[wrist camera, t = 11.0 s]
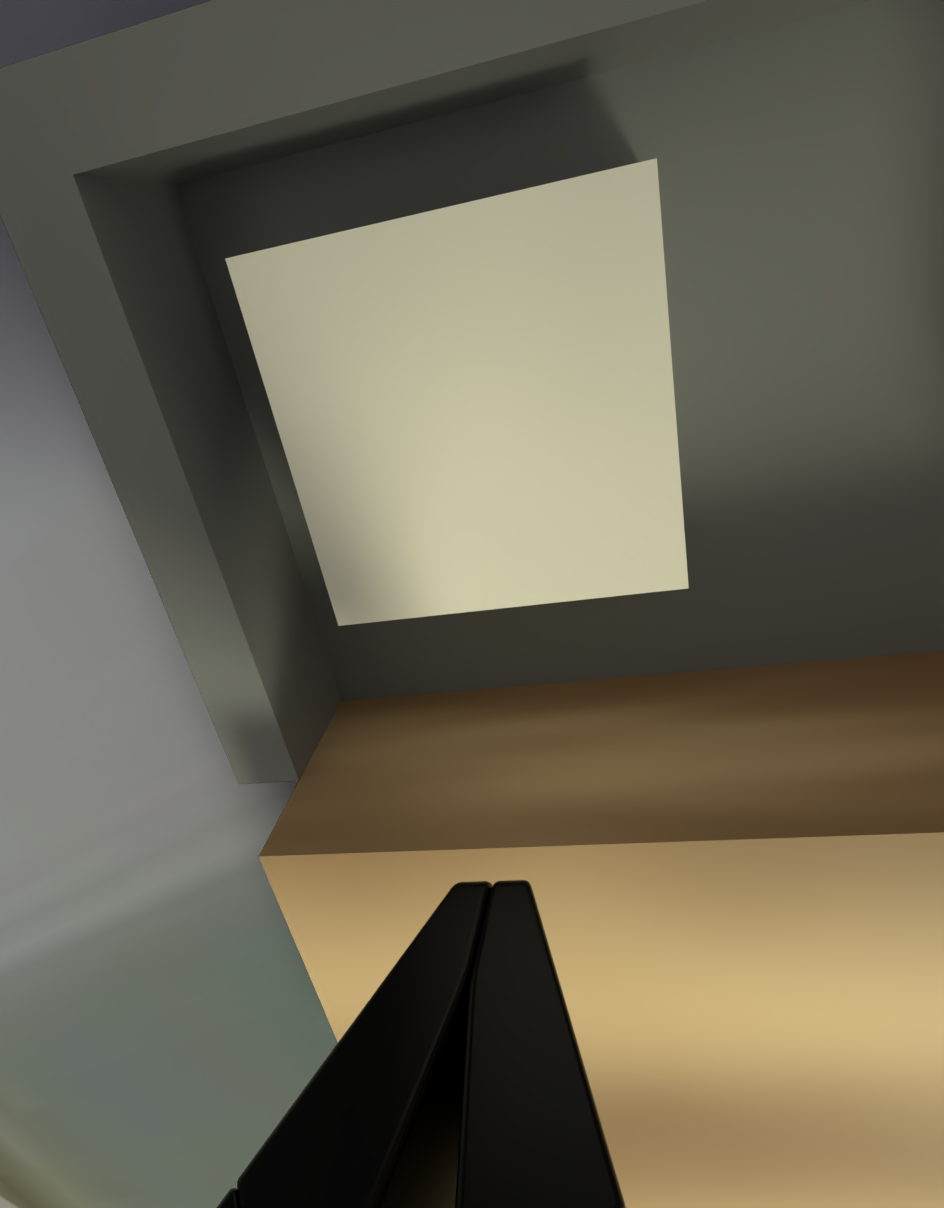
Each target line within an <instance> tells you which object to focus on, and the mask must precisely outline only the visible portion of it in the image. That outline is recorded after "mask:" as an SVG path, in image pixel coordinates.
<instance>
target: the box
mask: <svg viewBox="0 0 944 1208" xmlns="http://www.w3.org/2000/svg"><path fill="white" fill-rule="evenodd" d="M656 158H657V166H658V179H659V193H660V207H661V220H662V234H663V247H664V261H665V274H666V288H667V301H668V315H669V328H670V342H671V355H672V369H673V382H674V396H675V409H676V423H677V436H678V450H679V463H680V477H681V490H682V504H683V517H684V531H685V544H686V558H687V572H688V585H689V588H687V589H678V590H669V591H659V592H650V593H641V594H631V595H622V596H613V597H603V598H594V599H585V600H575V601H566V602H557V603H547V604H538V605H529V606H519V607H510V608H501V609H492V610H482V611H473V612H464V613H454V614H445V615H436V616H426V617H417V618H408V619H398V620H389V621H380V622H370V623H361V624H352V625H342V626H338V623H337V619H336V616H335V613H334V610H333V606H332V603H331V600H330V597H329V594H328V590H327V587H326V584H325V581H324V577H323V574H322V571H321V568H320V564H319V561H318V558H317V555H316V551H315V548H314V545H313V542H312V538H311V535H310V532H309V529H308V526H307V522H306V519H305V516H304V513H303V509H302V506H301V503H300V500H299V496H298V493H297V490H296V487H295V483H294V480H293V477H292V474H291V470H290V467H289V464H288V461H287V458H286V454H285V451H284V448H283V445H282V441H281V438H280V435H279V432H278V428H277V425H276V422H275V419H274V415H273V412H272V409H271V406H270V402H269V399H268V396H267V393H266V389H265V386H264V383H263V380H262V377H261V373H260V370H259V367H258V364H257V360H256V357H255V354H254V351H253V347H252V344H251V341H250V338H249V334H248V331H247V328H246V325H245V321H244V318H243V315H242V312H241V309H240V305H239V302H238V299H237V296H236V292H235V289H234V286H233V283H232V279H231V276H230V273H229V270H228V266H227V263H226V260H225V258H230V257H234V256H238V255H243V254H247V253H251V252H255V251H260V250H264V249H268V248H273V247H277V246H281V245H286V244H290V243H294V242H298V241H303V240H307V239H311V238H316V237H320V236H324V235H329V234H333V233H337V232H342V231H346V230H350V229H354V228H359V227H363V226H367V225H372V224H376V223H380V222H385V221H389V220H393V219H397V218H402V217H406V216H410V215H415V214H419V213H423V212H428V211H432V210H436V209H440V208H445V207H449V206H453V205H458V204H462V203H466V202H471V201H475V200H479V199H484V198H488V197H492V196H496V195H501V194H505V193H509V192H514V191H518V190H522V189H527V188H531V187H535V186H539V185H544V184H548V183H552V182H557V181H561V180H565V179H570V178H574V177H578V176H582V175H587V174H591V173H595V172H600V171H604V170H608V169H613V168H617V167H621V166H626V165H630V164H634V163H638V162H643V161H647V160H651V159H656ZM0 216H1V218H2V220H3V223H4V225H5V227H6V230H7V232H8V235H9V237H10V239H11V242H12V244H13V247H14V249H15V251H16V254H17V256H18V259H19V261H20V263H21V266H22V268H23V270H24V273H25V275H26V278H27V280H28V282H29V285H30V287H31V290H32V292H33V294H34V297H35V299H36V301H37V304H38V306H39V309H40V311H41V313H42V316H43V318H44V321H45V323H46V325H47V328H48V330H49V333H50V335H51V337H52V340H53V342H54V344H55V347H56V349H57V352H58V354H59V356H60V359H61V361H62V364H63V366H64V368H65V371H66V373H67V375H68V378H69V380H70V383H71V385H72V387H73V390H74V392H75V395H76V397H77V399H78V402H79V404H80V407H81V409H82V411H83V414H84V416H85V418H86V421H87V423H88V426H89V428H90V430H91V433H92V435H93V438H94V440H95V442H96V445H97V447H98V449H99V452H100V454H101V457H102V459H103V461H104V464H105V466H106V469H107V471H108V473H109V476H110V478H111V481H112V483H113V485H114V488H115V490H116V492H117V495H118V497H119V500H120V502H121V504H122V507H123V509H124V512H125V514H126V516H127V519H128V521H129V523H130V526H131V528H132V531H133V533H134V535H135V538H136V540H137V543H138V545H139V547H140V550H141V552H142V555H143V557H144V559H145V562H146V564H147V566H148V569H149V571H150V574H151V576H152V578H153V581H154V583H155V586H156V588H157V590H158V593H159V595H160V597H161V600H162V602H163V605H164V607H165V609H166V612H167V614H168V617H169V619H170V621H171V624H172V626H173V629H174V631H175V633H176V636H177V638H178V640H179V643H180V645H181V648H182V650H183V652H184V655H185V657H186V660H187V662H188V664H189V667H190V669H191V671H192V674H193V676H194V679H195V681H196V683H197V686H198V688H199V691H200V693H201V695H202V698H203V700H204V703H205V705H206V707H207V710H208V712H209V714H210V717H211V719H212V722H213V724H214V726H215V729H216V731H217V734H218V736H219V738H220V741H221V743H222V745H223V748H224V750H225V753H226V755H227V757H228V760H229V762H230V765H231V767H232V769H233V772H234V774H235V777H236V779H237V781H238V784H252V783H269V782H286V781H299V780H300V778H301V776H302V774H303V772H304V770H305V768H306V767H307V765H308V763H309V761H310V759H311V757H312V755H313V753H314V752H315V750H316V748H317V746H318V744H319V742H320V740H321V738H322V737H323V735H324V733H325V731H326V729H327V727H328V725H329V723H330V722H331V720H332V718H333V716H334V714H335V712H336V710H337V708H338V707H339V705H340V703H341V701H345V700H357V699H369V698H381V697H393V696H405V695H417V694H429V693H441V692H453V691H465V690H477V689H489V688H501V687H513V686H525V685H537V684H549V683H560V682H572V681H584V680H596V679H608V678H620V677H632V676H644V675H656V674H668V673H680V672H692V671H704V670H716V669H728V668H740V667H752V666H764V665H776V664H788V663H799V662H811V661H823V660H835V659H847V658H859V657H871V656H883V655H895V654H907V653H919V652H931V651H943V650H944V0H211V1H208V2H205V3H202V4H199V5H196V6H192V7H189V8H186V9H183V10H180V11H177V12H174V13H170V14H167V15H164V16H161V17H158V18H155V19H152V20H149V21H145V22H142V23H139V24H136V25H133V26H130V27H127V28H124V29H120V30H117V31H114V32H111V33H108V34H105V35H102V36H99V37H95V38H92V39H89V40H86V41H83V42H80V43H77V44H73V45H70V46H67V47H64V48H61V49H58V50H55V51H52V52H48V53H45V54H42V55H39V56H36V57H33V58H30V59H27V60H23V61H20V62H17V63H14V64H11V65H8V66H5V67H2V68H0Z"/></svg>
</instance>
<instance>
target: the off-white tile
mask: <svg viewBox="0 0 944 1208" xmlns="http://www.w3.org/2000/svg"><path fill="white" fill-rule="evenodd" d="M225 260H226V263H227V266H228V270H229V273H230V276H231V279H232V283H233V286H234V289H235V292H236V296H237V299H238V302H239V305H240V309H241V312H242V315H243V318H244V321H245V325H246V328H247V331H248V334H249V338H250V341H251V344H252V347H253V351H254V354H255V357H256V360H257V364H258V367H259V370H260V373H261V377H262V380H263V383H264V386H265V389H266V393H267V396H268V399H269V402H270V406H271V409H272V412H273V415H274V419H275V422H276V425H277V428H278V432H279V435H280V438H281V441H282V445H283V448H284V451H285V454H286V458H287V461H288V464H289V467H290V470H291V474H292V477H293V480H294V483H295V487H296V490H297V493H298V496H299V500H300V503H301V506H302V509H303V513H304V516H305V519H306V522H307V526H308V529H309V532H310V535H311V538H312V542H313V545H314V548H315V551H316V555H317V558H318V561H319V564H320V568H321V571H322V574H323V577H324V581H325V584H326V587H327V590H328V594H329V597H330V600H331V603H332V606H333V610H334V613H335V616H336V619H337V623H338V626H342V625H352V624H361V623H370V622H380V621H389V620H398V619H408V618H417V617H426V616H436V615H445V614H454V613H464V612H473V611H482V610H492V609H501V608H510V607H519V606H529V605H538V604H547V603H557V602H566V601H575V600H585V599H594V598H603V597H613V596H622V595H631V594H641V593H650V592H659V591H669V590H678V589H687V588H689V585H688V572H687V558H686V544H685V531H684V517H683V504H682V490H681V477H680V463H679V450H678V436H677V423H676V409H675V396H674V382H673V369H672V355H671V342H670V328H669V315H668V301H667V288H666V274H665V261H664V247H663V234H662V220H661V207H660V193H659V179H658V166H657V158H656V159H651V160H647V161H643V162H638V163H634V164H630V165H626V166H621V167H617V168H613V169H608V170H604V171H600V172H595V173H591V174H587V175H582V176H578V177H574V178H570V179H565V180H561V181H557V182H552V183H548V184H544V185H539V186H535V187H531V188H527V189H522V190H518V191H514V192H509V193H505V194H501V195H496V196H492V197H488V198H484V199H479V200H475V201H471V202H466V203H462V204H458V205H453V206H449V207H445V208H440V209H436V210H432V211H428V212H423V213H419V214H415V215H410V216H406V217H402V218H397V219H393V220H389V221H385V222H380V223H376V224H372V225H367V226H363V227H359V228H354V229H350V230H346V231H342V232H337V233H333V234H329V235H324V236H320V237H316V238H311V239H307V240H303V241H298V242H294V243H290V244H286V245H281V246H277V247H273V248H268V249H264V250H260V251H255V252H251V253H247V254H243V255H238V256H234V257H230V258H225Z"/></svg>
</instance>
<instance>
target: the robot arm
mask: <svg viewBox="0 0 944 1208" xmlns="http://www.w3.org/2000/svg"><path fill="white" fill-rule="evenodd" d="M237 1189H238V1190H237ZM237 1189H236V1188H232V1189H230V1190H229V1192H228V1193H227V1194H226V1196H225V1197H224V1199H223V1200H222V1201H221V1203H220V1204H219V1205H218V1207H217V1208H626V1206H625V1202H624V1198H623V1195H622V1192H621V1188H620V1185H619V1182H618V1178H617V1175H616V1171H615V1168H614V1165H613V1161H612V1158H611V1154H610V1151H609V1148H608V1144H607V1141H606V1137H605V1134H604V1131H603V1127H602V1124H601V1120H600V1117H599V1114H598V1110H597V1107H596V1103H595V1100H594V1097H593V1093H592V1090H591V1086H590V1083H589V1080H588V1076H587V1073H586V1069H585V1066H584V1063H583V1059H582V1056H581V1053H580V1049H579V1046H578V1042H577V1039H576V1036H575V1032H574V1029H573V1025H572V1022H571V1019H570V1015H569V1012H568V1008H567V1005H566V1002H565V998H564V995H563V991H562V988H561V985H560V981H559V978H558V974H557V971H556V968H555V964H554V961H553V957H552V954H551V951H550V947H549V944H548V941H547V937H546V934H545V930H544V927H543V924H542V920H541V917H540V913H539V910H538V907H537V903H536V900H535V896H534V893H533V890H532V886H531V884H530V883H529V882H528V881H527V880H506V881H497V882H495V883H494V884H493V885H492V884H491V883H490V882H487V881H474V882H459V883H457V884H455V885H454V886H453V887H452V888H451V889H450V890H449V892H448V893H447V894H446V896H445V897H444V899H443V900H442V901H441V903H440V904H439V905H438V907H437V908H436V910H435V911H434V912H433V914H432V915H431V916H430V918H429V919H428V920H427V922H426V923H425V925H424V926H423V927H422V929H421V930H420V931H419V933H418V934H417V935H416V937H415V938H414V940H413V941H412V942H411V944H410V945H409V946H408V948H407V949H406V950H405V952H404V953H403V955H402V956H401V957H400V959H399V960H398V961H397V963H396V964H395V966H394V967H393V968H392V970H391V971H390V972H389V974H388V975H387V976H386V978H385V979H384V981H383V982H382V983H381V985H380V986H379V987H378V989H377V990H376V991H375V993H374V994H373V996H372V997H371V998H370V1000H369V1001H368V1002H367V1004H366V1005H365V1006H364V1008H363V1009H362V1011H361V1012H360V1013H359V1015H358V1016H357V1017H356V1019H355V1020H354V1022H353V1023H352V1024H351V1026H350V1027H349V1028H348V1030H347V1031H346V1032H345V1034H344V1035H343V1037H342V1038H341V1039H340V1041H339V1042H338V1043H337V1045H336V1046H335V1047H334V1049H333V1050H332V1052H331V1053H330V1054H329V1056H328V1057H327V1058H326V1060H325V1061H324V1062H323V1064H322V1065H321V1067H320V1068H319V1069H318V1071H317V1072H316V1073H315V1075H314V1076H313V1078H312V1079H311V1080H310V1082H309V1083H308V1084H307V1086H306V1087H305V1088H304V1090H303V1091H302V1093H301V1094H300V1095H299V1097H298V1098H297V1099H296V1101H295V1102H294V1103H293V1105H292V1106H291V1108H290V1109H289V1110H288V1112H287V1113H286V1114H285V1116H284V1117H283V1118H282V1120H281V1121H280V1123H279V1124H278V1125H277V1127H276V1128H275V1129H274V1131H273V1132H272V1134H271V1135H270V1136H269V1138H268V1139H267V1140H266V1142H265V1143H264V1144H263V1146H262V1147H261V1149H260V1150H259V1151H258V1153H257V1154H256V1155H255V1157H254V1158H253V1159H252V1161H251V1162H250V1164H249V1165H248V1166H247V1168H246V1169H245V1170H244V1172H243V1173H242V1174H241V1176H240V1177H239V1179H238V1181H237Z"/></svg>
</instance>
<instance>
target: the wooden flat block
mask: <svg viewBox="0 0 944 1208" xmlns="http://www.w3.org/2000/svg"><path fill="white" fill-rule="evenodd" d="M259 859H260V861H261V863H262V866H263V868H264V870H265V873H266V875H267V877H268V880H269V882H270V884H271V887H272V889H273V891H274V894H275V896H276V898H277V901H278V903H279V905H280V908H281V910H282V912H283V915H284V917H285V920H286V922H287V924H288V927H289V929H290V931H291V934H292V936H293V938H294V941H295V943H296V945H297V948H298V950H299V952H300V955H301V957H302V959H303V962H304V964H305V966H306V969H307V971H308V973H309V976H310V978H311V980H312V983H313V985H314V987H315V990H316V992H317V994H318V997H319V999H320V1001H321V1004H322V1006H323V1008H324V1011H325V1013H326V1016H327V1018H328V1020H329V1023H330V1025H331V1027H332V1030H333V1032H334V1034H335V1037H336V1039H337V1041H338V1042H339V1041H340V1039H341V1038H342V1037H343V1035H344V1034H345V1032H346V1031H347V1030H348V1028H349V1027H350V1026H351V1024H352V1023H353V1022H354V1020H355V1019H356V1017H357V1016H358V1015H359V1013H360V1012H361V1011H362V1009H363V1008H364V1006H365V1005H366V1004H367V1002H368V1001H369V1000H370V998H371V997H372V996H373V994H374V993H375V991H376V990H377V989H378V987H379V986H380V985H381V983H382V982H383V981H384V979H385V978H386V976H387V975H388V974H389V972H390V971H391V970H392V968H393V967H394V966H395V964H396V963H397V961H398V960H399V959H400V957H401V956H402V955H403V953H404V952H405V950H406V949H407V948H408V946H409V945H410V944H411V942H412V941H413V940H414V938H415V937H416V935H417V934H418V933H419V931H420V930H421V929H422V927H423V926H424V925H425V923H426V922H427V920H428V919H429V918H430V916H431V915H432V914H433V912H434V911H435V910H436V908H437V907H438V905H439V904H440V903H441V901H442V900H443V899H444V897H445V896H446V894H447V893H448V892H449V890H450V889H451V888H452V887H453V886H454V885H455V884H457V883H459V882H474V881H487V882H490V883H491V884H492V885H493V884H494V883H495V882H497V881H506V880H527V881H528V882H529V883H530V884H531V886H532V890H533V893H534V896H535V900H536V903H537V907H538V910H539V913H540V917H541V920H542V924H543V927H544V930H545V934H546V937H547V941H548V944H549V947H550V951H551V954H552V957H553V961H554V964H555V968H556V971H557V974H558V978H559V981H560V985H561V988H562V991H563V995H564V998H565V1002H566V1005H567V1008H568V1012H569V1015H570V1019H571V1022H572V1025H573V1029H574V1032H575V1036H576V1039H577V1042H578V1046H579V1049H580V1053H581V1056H582V1059H583V1063H584V1066H585V1069H586V1073H587V1076H588V1080H589V1083H590V1086H591V1090H592V1093H593V1097H594V1100H595V1103H596V1107H597V1110H598V1114H599V1117H600V1120H601V1124H602V1127H603V1131H604V1134H605V1137H606V1141H607V1144H608V1148H609V1151H610V1154H611V1158H612V1161H613V1165H614V1168H615V1171H616V1175H617V1178H618V1182H619V1185H620V1188H621V1192H622V1195H623V1198H624V1202H625V1206H626V1208H944V650H943V651H931V652H919V653H907V654H895V655H883V656H871V657H859V658H847V659H835V660H823V661H811V662H799V663H788V664H776V665H764V666H752V667H740V668H728V669H716V670H704V671H692V672H680V673H668V674H656V675H644V676H632V677H620V678H608V679H596V680H584V681H572V682H560V683H549V684H537V685H525V686H513V687H501V688H489V689H477V690H465V691H453V692H441V693H429V694H417V695H405V696H393V697H381V698H369V699H357V700H345V701H341V703H340V705H339V707H338V708H337V710H336V712H335V714H334V716H333V718H332V720H331V722H330V723H329V725H328V727H327V729H326V731H325V733H324V735H323V737H322V738H321V740H320V742H319V744H318V746H317V748H316V750H315V752H314V753H313V755H312V757H311V759H310V761H309V763H308V765H307V767H306V768H305V770H304V772H303V774H302V776H301V778H300V780H299V782H298V783H297V785H296V787H295V789H294V791H293V793H292V795H291V797H290V798H289V800H288V802H287V804H286V806H285V808H284V810H283V812H282V814H281V815H280V817H279V819H278V821H277V823H276V825H275V827H274V829H273V830H272V832H271V834H270V836H269V838H268V840H267V842H266V844H265V845H264V847H263V849H262V851H261V853H260V855H259Z"/></svg>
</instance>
